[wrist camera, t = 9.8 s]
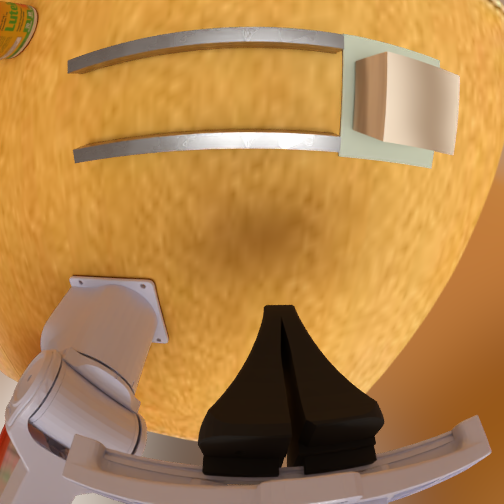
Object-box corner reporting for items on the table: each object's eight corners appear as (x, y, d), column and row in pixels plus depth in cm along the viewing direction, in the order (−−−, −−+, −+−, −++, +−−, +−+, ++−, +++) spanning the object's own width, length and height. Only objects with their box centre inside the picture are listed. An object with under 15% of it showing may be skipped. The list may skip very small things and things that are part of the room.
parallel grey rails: (88, 156, 18) (75, 163, 16) (82, 62, 14) (67, 60, 12) (332, 147, 18) (340, 152, 16) (335, 40, 14) (343, 34, 12)
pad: (338, 155, 18) (338, 156, 18) (342, 34, 14) (343, 33, 13) (430, 167, 18) (431, 168, 18) (438, 60, 14) (439, 60, 13)
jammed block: (352, 130, 17) (383, 141, 12) (355, 61, 14) (387, 51, 10) (413, 139, 17) (453, 155, 12) (418, 76, 14) (459, 76, 10)
